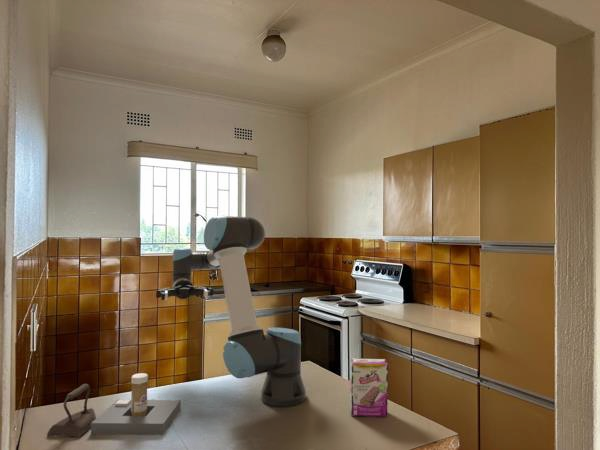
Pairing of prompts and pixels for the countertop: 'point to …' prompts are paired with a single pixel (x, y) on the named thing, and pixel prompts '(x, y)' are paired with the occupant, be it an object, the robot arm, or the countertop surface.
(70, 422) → the clothes iron
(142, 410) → the sprinkles bottle
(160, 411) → the socket plate
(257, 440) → the countertop surface
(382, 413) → the candy bar box
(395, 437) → the countertop surface
